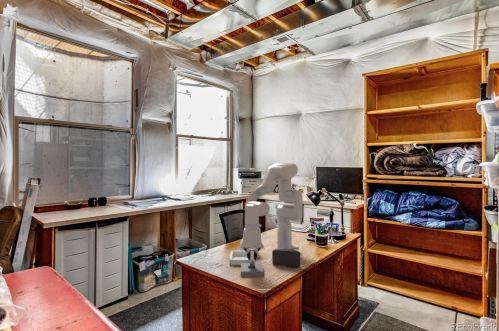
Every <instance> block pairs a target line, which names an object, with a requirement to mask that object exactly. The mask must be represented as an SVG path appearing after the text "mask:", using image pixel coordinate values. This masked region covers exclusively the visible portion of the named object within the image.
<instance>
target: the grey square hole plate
mask: <svg viewBox="0 0 499 331" xmlns="http://www.w3.org/2000/svg"><path fill="white" fill-rule="evenodd" d="M263 265H264V264H263V262H255V267H250V263H241V265H240V277H264V267H263Z"/></svg>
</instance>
